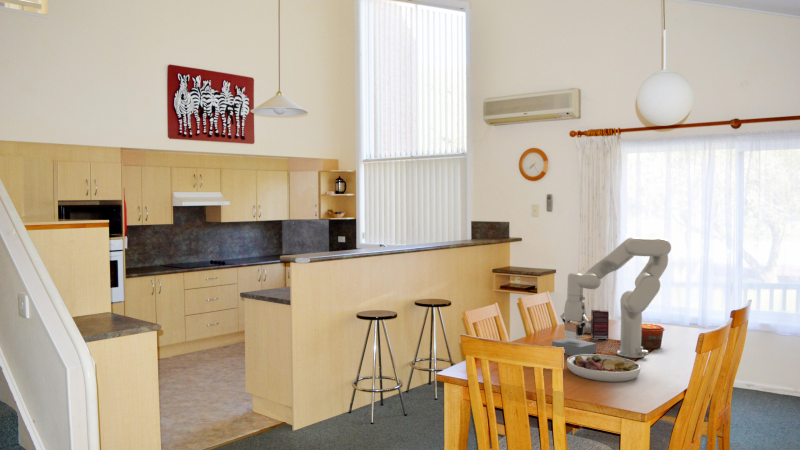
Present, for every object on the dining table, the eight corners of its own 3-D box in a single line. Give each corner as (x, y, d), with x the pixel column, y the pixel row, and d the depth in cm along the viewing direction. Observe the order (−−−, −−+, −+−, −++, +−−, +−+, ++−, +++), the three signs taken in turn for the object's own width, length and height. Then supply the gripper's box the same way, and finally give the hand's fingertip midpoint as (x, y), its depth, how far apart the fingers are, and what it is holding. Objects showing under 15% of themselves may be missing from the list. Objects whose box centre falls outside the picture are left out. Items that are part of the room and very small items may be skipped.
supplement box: (606, 338, 323) (606, 309, 323) (608, 340, 318) (609, 311, 318) (590, 337, 324) (591, 309, 323) (592, 339, 319) (593, 310, 319)
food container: (624, 344, 308) (624, 324, 308) (645, 341, 315) (645, 322, 315) (649, 351, 294) (650, 330, 294) (670, 348, 301) (671, 327, 301)
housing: (583, 337, 288) (583, 323, 288) (575, 339, 284) (576, 324, 284) (571, 335, 293) (572, 321, 293) (564, 336, 289) (564, 322, 289)
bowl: (582, 361, 272) (582, 344, 272) (649, 373, 253) (649, 355, 253) (555, 374, 249) (555, 356, 248) (626, 389, 230) (627, 369, 229)
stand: (596, 353, 287) (596, 343, 287) (579, 357, 278) (579, 347, 278) (568, 347, 299) (568, 337, 299) (551, 351, 290) (552, 341, 290)
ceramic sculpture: (580, 316, 342) (606, 319, 339) (578, 330, 342) (605, 333, 339) (582, 319, 331) (609, 322, 328) (580, 334, 332) (608, 337, 329)
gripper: (594, 299, 284) (593, 336, 284) (564, 295, 297) (563, 330, 297) (586, 301, 279) (584, 338, 279) (555, 296, 292) (554, 331, 293)
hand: (573, 333), depth 288 cm, fingers closed on housing, 6 cm apart
